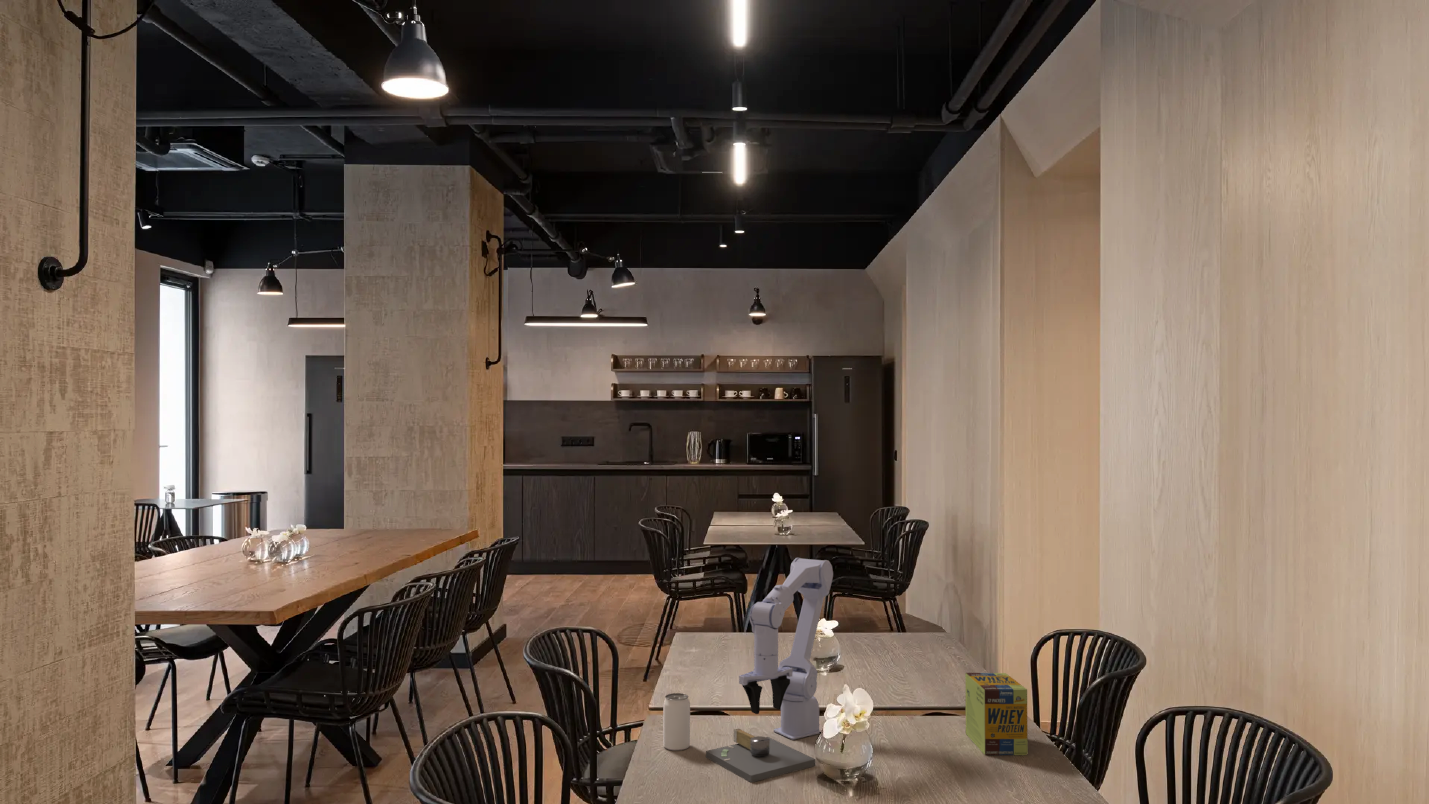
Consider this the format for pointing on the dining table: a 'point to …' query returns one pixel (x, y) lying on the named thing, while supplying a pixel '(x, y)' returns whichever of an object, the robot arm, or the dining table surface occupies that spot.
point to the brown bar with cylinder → (752, 742)
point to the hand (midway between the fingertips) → (766, 710)
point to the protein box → (996, 714)
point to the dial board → (760, 761)
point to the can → (676, 722)
